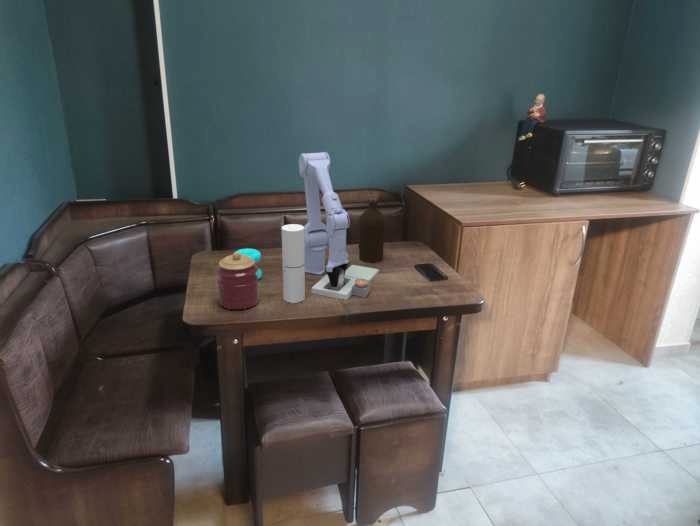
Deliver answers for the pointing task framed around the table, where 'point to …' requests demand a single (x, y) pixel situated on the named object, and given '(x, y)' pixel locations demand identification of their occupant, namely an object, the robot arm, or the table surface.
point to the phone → (430, 272)
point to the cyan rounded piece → (253, 254)
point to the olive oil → (371, 233)
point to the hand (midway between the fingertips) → (336, 283)
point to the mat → (361, 272)
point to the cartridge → (339, 280)
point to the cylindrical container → (293, 263)
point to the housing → (344, 292)
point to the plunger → (361, 283)
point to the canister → (238, 281)
